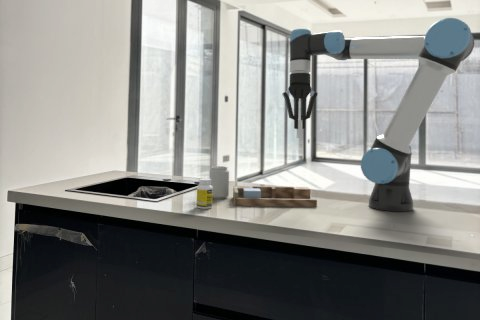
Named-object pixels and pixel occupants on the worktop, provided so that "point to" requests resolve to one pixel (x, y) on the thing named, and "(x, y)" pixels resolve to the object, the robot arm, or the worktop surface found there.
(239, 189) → the box
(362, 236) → the worktop surface
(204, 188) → the supplement bottle
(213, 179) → the can
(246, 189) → the block
